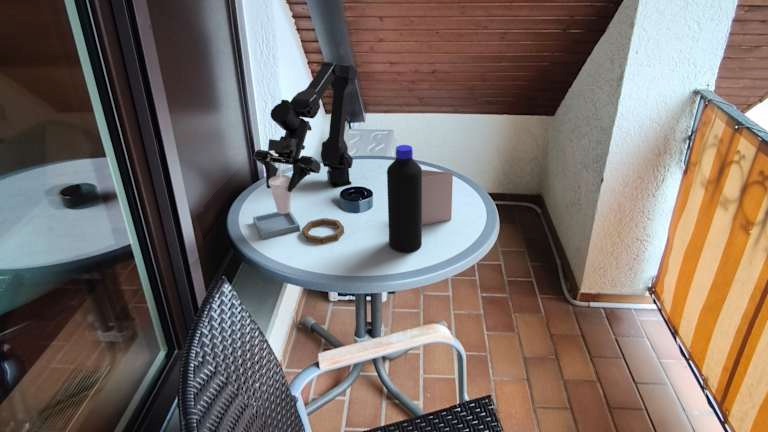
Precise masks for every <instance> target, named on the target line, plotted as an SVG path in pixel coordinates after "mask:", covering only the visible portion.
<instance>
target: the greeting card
mask: <svg viewBox="0 0 768 432" xmlns="http://www.w3.org/2000/svg"><path fill="white" fill-rule="evenodd" d="M453 175H454V172H449V171H437V170H428V169H422V226H424V225H430V224H435V223H441V222H447V221H451V220H452V212H453V211H452V210H453V209H452V208H453V177H454V176H453Z"/></svg>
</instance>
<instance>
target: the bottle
mask: <svg viewBox="0 0 768 432" xmlns="http://www.w3.org/2000/svg"><path fill="white" fill-rule="evenodd" d="M413 152H414V151H413V147H412V146H411V145H408V144H401V145H400V144H399V145H398V146H396V147H395V157H396V158H395V159H394V160H393V161H392V162H391V163H390V164H389V166H388V168H387V170H386V179H387V180H386V182H387V184H386V185H387V208H388V209H387V213H388V245H389V248H390V249H392V250H393V251H395V252H398V253H402V254H403V253H405V254H407V253H413V252H416V251H418V250H419V249H420V248H421V247H422V240H423V238H422V237H423V235H422V234H423V233H422V231H423V230H422V229H423V228H422V227H423V225H422V170H423V169H422V167H421V165H420V164H419V163H418V162H417V161H415V159H414V158H413V156H414V155H413Z"/></svg>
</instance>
